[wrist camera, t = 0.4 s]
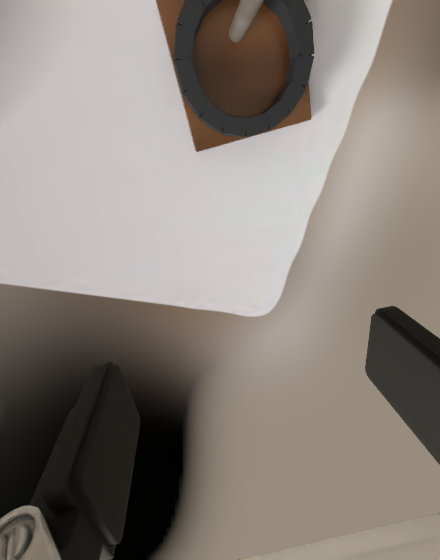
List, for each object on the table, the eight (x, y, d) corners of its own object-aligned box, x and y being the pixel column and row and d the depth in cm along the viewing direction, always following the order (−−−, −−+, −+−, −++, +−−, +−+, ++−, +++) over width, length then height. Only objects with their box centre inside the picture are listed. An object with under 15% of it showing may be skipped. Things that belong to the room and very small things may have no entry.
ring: (155, -7, 26) (153, -19, 24) (296, -47, 26) (306, -63, 24) (197, 150, 32) (198, 151, 30) (310, 118, 32) (319, 116, 30)
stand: (155, -1, 27) (131, -132, 14) (292, -41, 27) (390, -206, 14) (196, 151, 33) (204, 154, 21) (307, 120, 33) (383, 103, 21)
